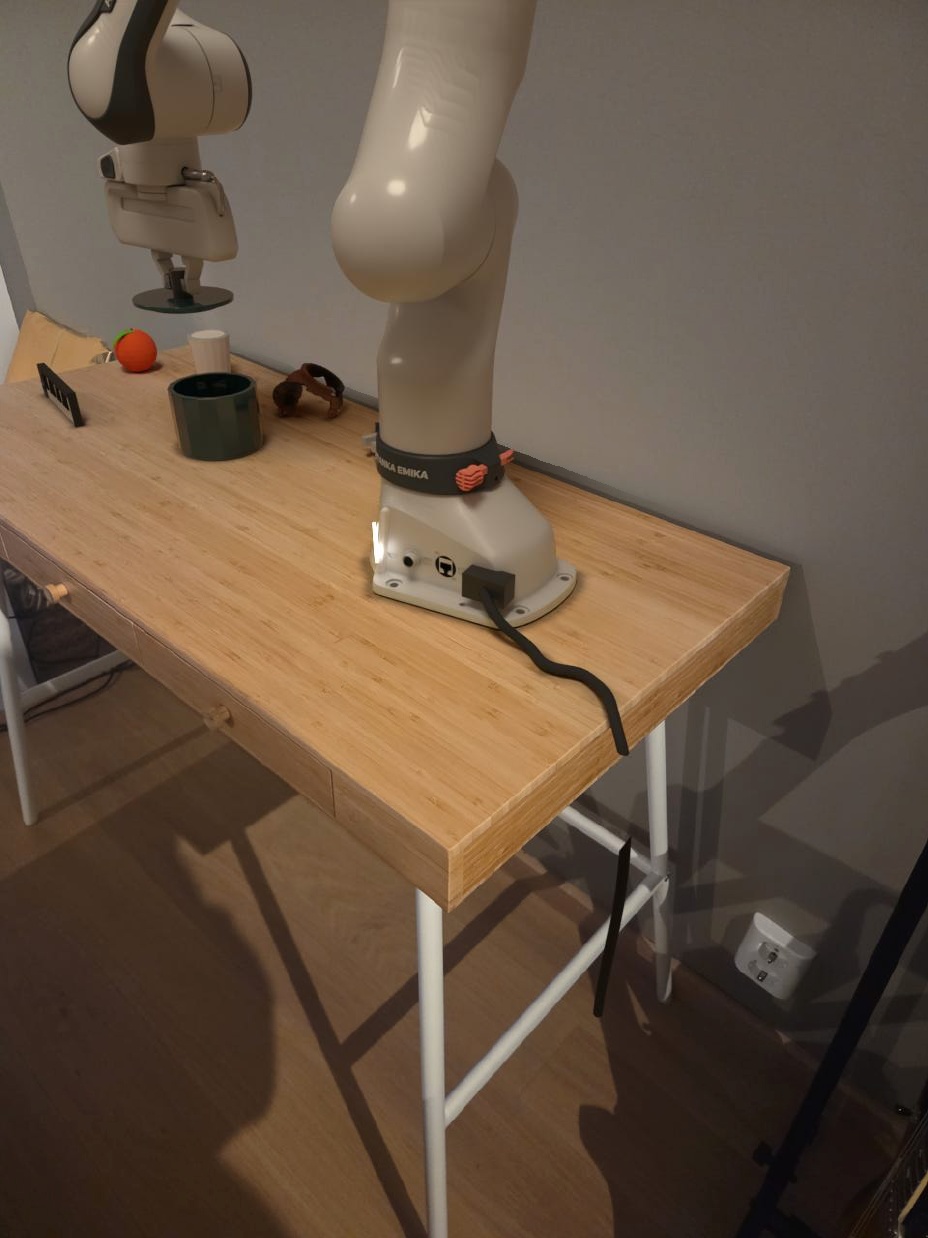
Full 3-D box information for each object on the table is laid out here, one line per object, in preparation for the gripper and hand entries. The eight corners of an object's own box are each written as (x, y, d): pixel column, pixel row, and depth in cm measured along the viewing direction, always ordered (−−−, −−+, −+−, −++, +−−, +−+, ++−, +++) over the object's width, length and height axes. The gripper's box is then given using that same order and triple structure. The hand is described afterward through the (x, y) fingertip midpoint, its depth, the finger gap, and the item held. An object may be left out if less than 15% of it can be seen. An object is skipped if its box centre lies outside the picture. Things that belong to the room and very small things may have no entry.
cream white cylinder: (229, 382, 139) (223, 339, 135) (188, 381, 139) (181, 339, 135) (239, 369, 145) (233, 328, 141) (199, 369, 145) (193, 328, 141)
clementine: (132, 380, 139) (123, 337, 135) (104, 373, 142) (95, 331, 138) (169, 368, 145) (161, 326, 141) (141, 362, 148) (133, 321, 144)
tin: (280, 442, 117) (273, 383, 112) (214, 467, 109) (204, 405, 105) (228, 424, 123) (219, 366, 118) (162, 446, 115) (150, 386, 111)
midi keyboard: (44, 394, 133) (35, 363, 130) (52, 393, 133) (44, 362, 130) (74, 427, 121) (66, 393, 118) (84, 425, 122) (75, 392, 119)
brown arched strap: (297, 401, 133) (320, 357, 129) (338, 437, 131) (362, 394, 127) (246, 403, 123) (269, 355, 119) (290, 443, 121) (314, 396, 117)
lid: (255, 304, 105) (250, 267, 103) (173, 322, 97) (166, 283, 94) (194, 290, 111) (189, 255, 109) (113, 306, 103) (105, 269, 101)
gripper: (242, 169, 92) (257, 299, 100) (134, 157, 103) (155, 275, 110) (195, 173, 88) (215, 308, 96) (87, 160, 98) (113, 283, 106)
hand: (182, 291), depth 103 cm, fingers closed on lid, 2 cm apart
